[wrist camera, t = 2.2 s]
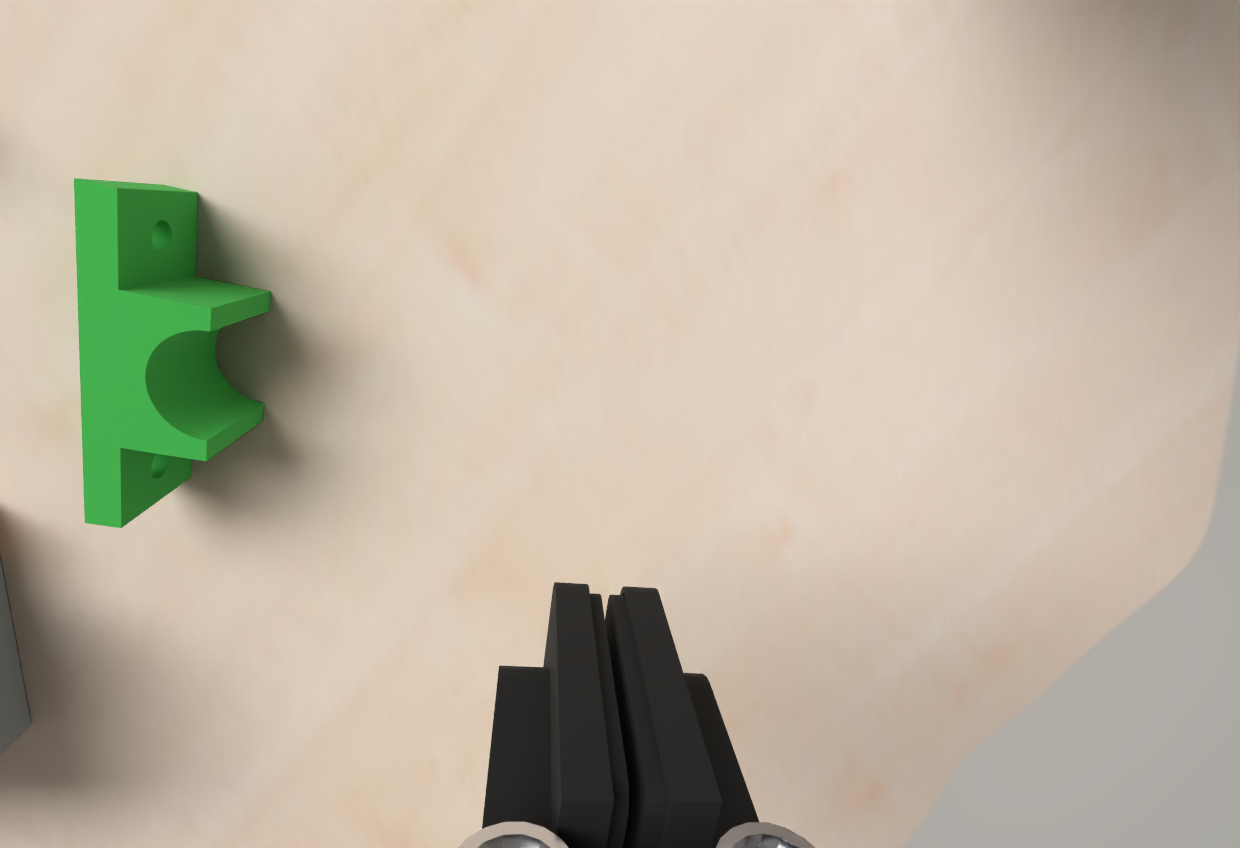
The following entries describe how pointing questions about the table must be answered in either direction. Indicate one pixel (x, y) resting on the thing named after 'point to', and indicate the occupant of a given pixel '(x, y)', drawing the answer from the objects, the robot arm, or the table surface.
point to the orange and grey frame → (10, 678)
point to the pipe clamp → (150, 347)
